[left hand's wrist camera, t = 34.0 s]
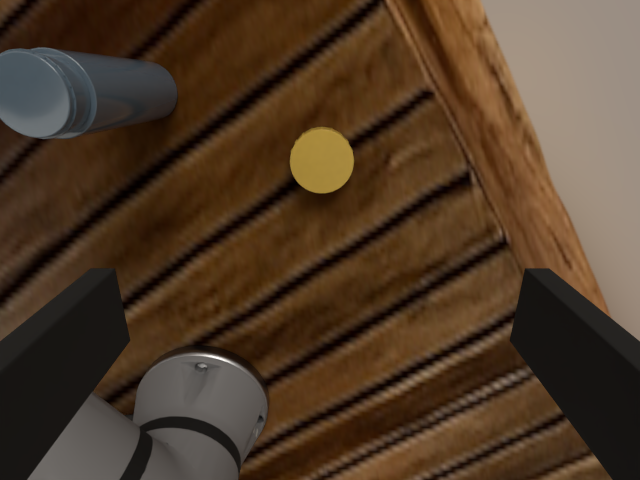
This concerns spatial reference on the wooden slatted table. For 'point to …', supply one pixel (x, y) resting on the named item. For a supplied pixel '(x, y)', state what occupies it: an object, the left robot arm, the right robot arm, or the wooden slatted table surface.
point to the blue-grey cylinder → (80, 92)
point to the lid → (321, 160)
